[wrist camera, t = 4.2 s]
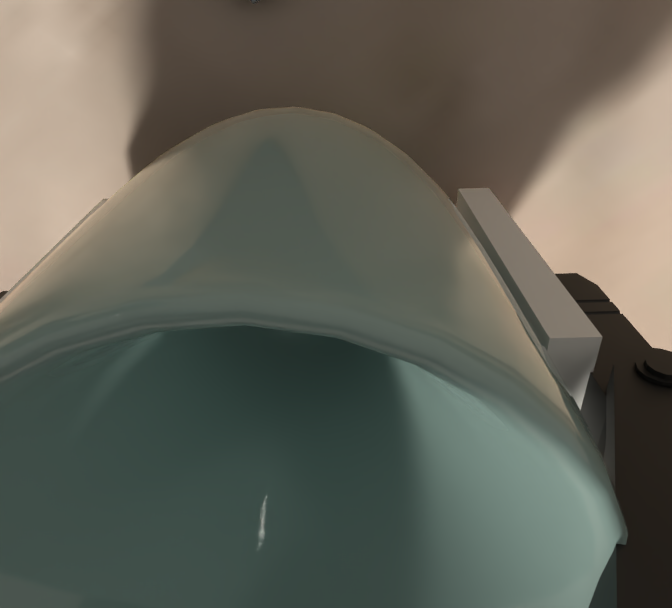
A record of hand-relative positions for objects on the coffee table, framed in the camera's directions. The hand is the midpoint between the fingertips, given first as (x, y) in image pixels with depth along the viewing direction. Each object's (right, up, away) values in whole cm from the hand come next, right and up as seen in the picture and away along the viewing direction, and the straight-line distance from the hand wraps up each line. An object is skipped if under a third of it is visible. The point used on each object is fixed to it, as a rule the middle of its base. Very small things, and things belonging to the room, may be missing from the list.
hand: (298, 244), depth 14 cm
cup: (0, 0, 0) cm, 1 cm away
